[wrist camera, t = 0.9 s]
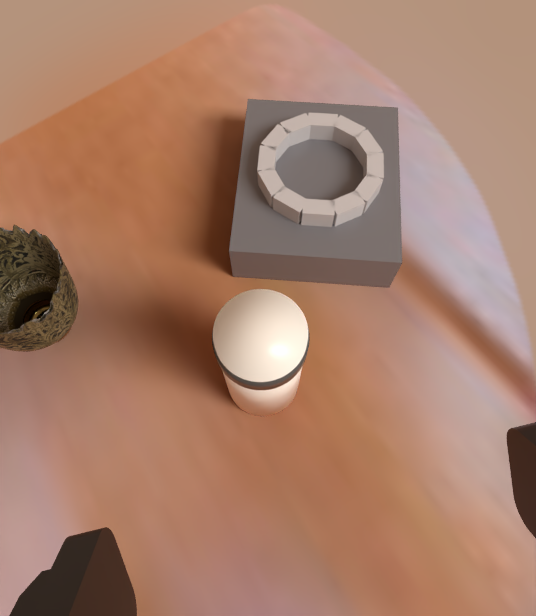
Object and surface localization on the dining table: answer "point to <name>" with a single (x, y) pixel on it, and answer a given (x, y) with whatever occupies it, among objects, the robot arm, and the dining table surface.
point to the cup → (33, 292)
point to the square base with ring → (318, 194)
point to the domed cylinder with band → (261, 349)
